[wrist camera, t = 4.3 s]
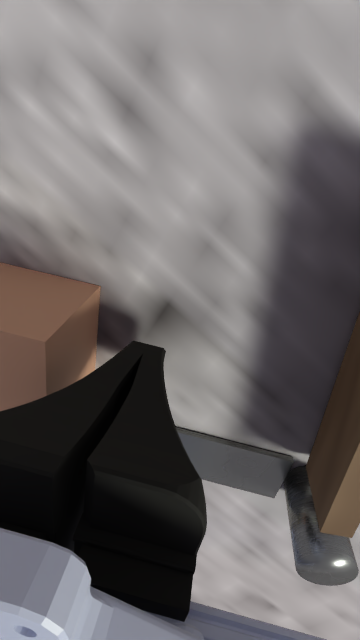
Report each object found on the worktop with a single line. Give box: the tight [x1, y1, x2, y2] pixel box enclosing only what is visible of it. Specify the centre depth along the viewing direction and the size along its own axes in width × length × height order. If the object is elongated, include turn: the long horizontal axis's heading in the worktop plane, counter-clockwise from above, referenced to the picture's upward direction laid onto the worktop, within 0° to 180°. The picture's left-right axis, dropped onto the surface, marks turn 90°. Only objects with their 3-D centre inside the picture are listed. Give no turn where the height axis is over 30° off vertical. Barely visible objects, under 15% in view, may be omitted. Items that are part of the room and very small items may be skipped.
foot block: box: [0, 262, 101, 411], centre depth 13 cm, size 4×4×4 cm
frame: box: [176, 427, 358, 586], centre depth 16 cm, size 4×19×4 cm, turn 79°
